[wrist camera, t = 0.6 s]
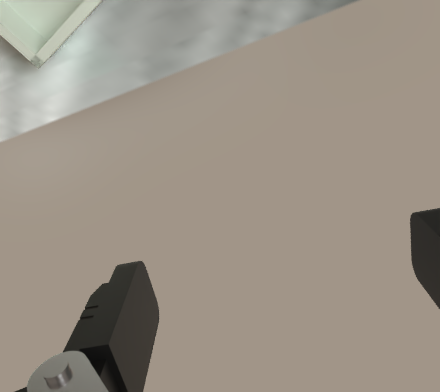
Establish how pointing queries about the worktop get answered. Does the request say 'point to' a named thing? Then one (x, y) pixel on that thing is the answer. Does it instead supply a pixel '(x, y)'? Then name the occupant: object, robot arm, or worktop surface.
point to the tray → (42, 24)
